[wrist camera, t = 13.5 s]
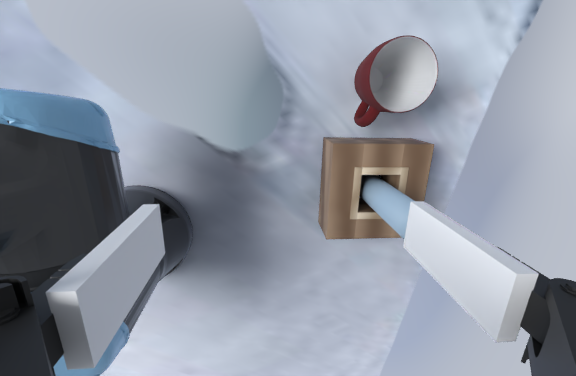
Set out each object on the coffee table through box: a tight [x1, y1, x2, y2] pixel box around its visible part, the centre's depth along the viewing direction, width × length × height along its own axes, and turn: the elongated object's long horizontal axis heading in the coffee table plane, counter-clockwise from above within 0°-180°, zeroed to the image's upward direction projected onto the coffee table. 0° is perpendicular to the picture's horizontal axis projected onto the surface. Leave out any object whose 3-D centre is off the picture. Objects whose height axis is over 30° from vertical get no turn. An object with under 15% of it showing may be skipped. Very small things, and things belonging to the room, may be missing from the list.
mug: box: [354, 36, 438, 127], centre depth 36 cm, size 11×8×10 cm
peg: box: [359, 175, 414, 239], centre depth 38 cm, size 4×4×16 cm
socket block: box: [318, 137, 434, 239], centre depth 42 cm, size 14×14×6 cm
